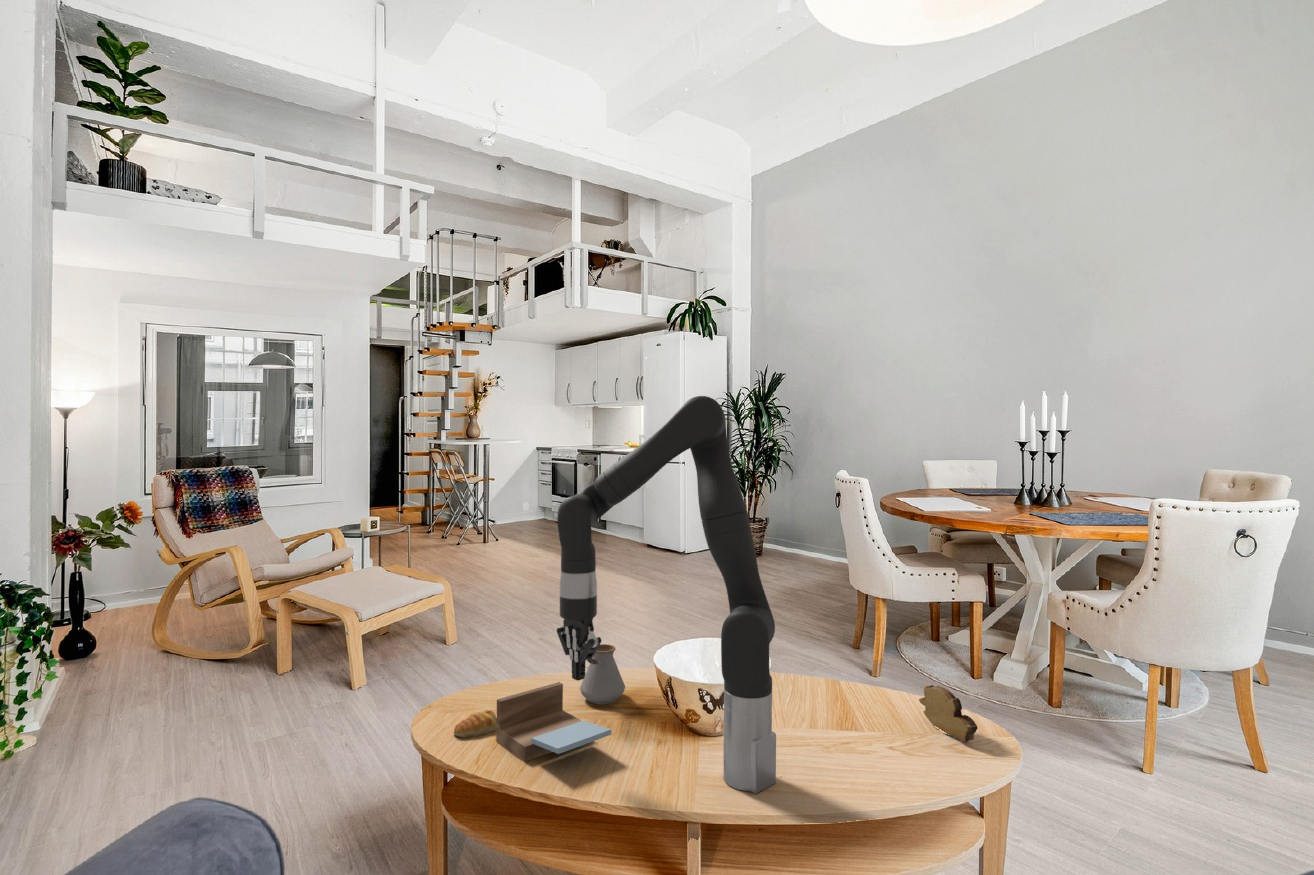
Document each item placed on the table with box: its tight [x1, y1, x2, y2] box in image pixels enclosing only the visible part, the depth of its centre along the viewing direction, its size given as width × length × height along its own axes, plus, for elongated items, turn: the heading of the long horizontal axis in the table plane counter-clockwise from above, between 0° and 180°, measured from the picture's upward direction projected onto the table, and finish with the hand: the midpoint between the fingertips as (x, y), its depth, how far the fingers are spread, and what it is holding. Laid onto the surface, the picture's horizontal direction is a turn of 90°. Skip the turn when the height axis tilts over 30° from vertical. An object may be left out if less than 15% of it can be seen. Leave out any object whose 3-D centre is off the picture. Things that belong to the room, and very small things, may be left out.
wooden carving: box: [918, 684, 979, 743], centre depth 145 cm, size 16×5×10 cm, turn 20°
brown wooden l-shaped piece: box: [495, 681, 582, 762], centre depth 140 cm, size 12×16×9 cm
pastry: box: [453, 709, 497, 738], centre depth 144 cm, size 9×7×4 cm
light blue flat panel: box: [531, 720, 613, 755], centre depth 132 cm, size 2×13×10 cm
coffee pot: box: [579, 643, 626, 705], centre depth 158 cm, size 21×12×15 cm, turn 171°
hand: (578, 678), depth 130 cm, fingers closed
